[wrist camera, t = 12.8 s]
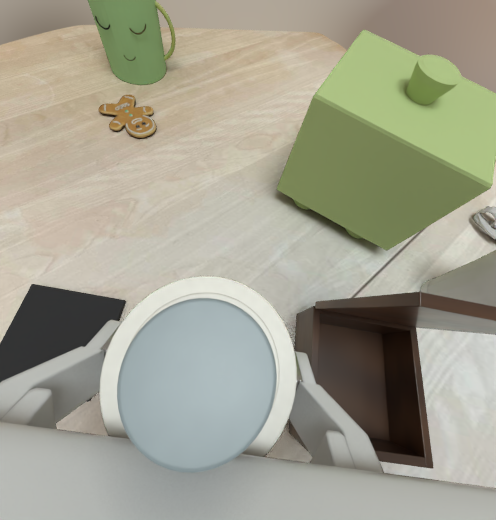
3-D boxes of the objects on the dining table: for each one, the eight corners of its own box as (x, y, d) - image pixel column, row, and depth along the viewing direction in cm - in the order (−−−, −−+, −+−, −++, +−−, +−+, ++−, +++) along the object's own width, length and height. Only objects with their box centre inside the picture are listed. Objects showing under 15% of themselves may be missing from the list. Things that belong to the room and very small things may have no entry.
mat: (90, 400, 26) (88, 401, 25) (-18, 384, 25) (-23, 385, 24) (126, 301, 30) (124, 300, 29) (35, 285, 29) (31, 283, 29)
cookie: (133, 88, 42) (169, 121, 41) (134, 94, 43) (170, 126, 42) (89, 106, 40) (126, 142, 38) (92, 112, 40) (128, 147, 39)
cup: (472, 323, 36) (588, 308, 25) (427, 328, 34) (528, 315, 23) (450, 273, 39) (545, 240, 28) (407, 276, 37) (490, 242, 26)
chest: (391, 447, 28) (433, 468, 23) (288, 432, 27) (307, 451, 22) (383, 329, 33) (415, 324, 28) (296, 314, 32) (313, 305, 27)
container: (400, 189, 44) (535, 70, 26) (376, 257, 38) (533, 163, 19) (310, 141, 45) (377, -5, 27) (272, 199, 39) (326, 60, 21)
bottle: (239, 411, 15) (361, 638, 3) (156, 399, 15) (-99, 605, 3) (251, 327, 18) (352, 258, 5) (178, 314, 17) (97, 204, 5)
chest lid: (624, 345, 14) (621, 331, 14) (419, 306, 13) (420, 291, 13) (418, 327, 28) (418, 320, 28) (314, 308, 27) (315, 301, 27)
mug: (106, 81, 44) (70, -11, 33) (116, 47, 47) (88, -46, 36) (176, 91, 45) (165, 6, 34) (181, 57, 49) (172, -29, 38)
